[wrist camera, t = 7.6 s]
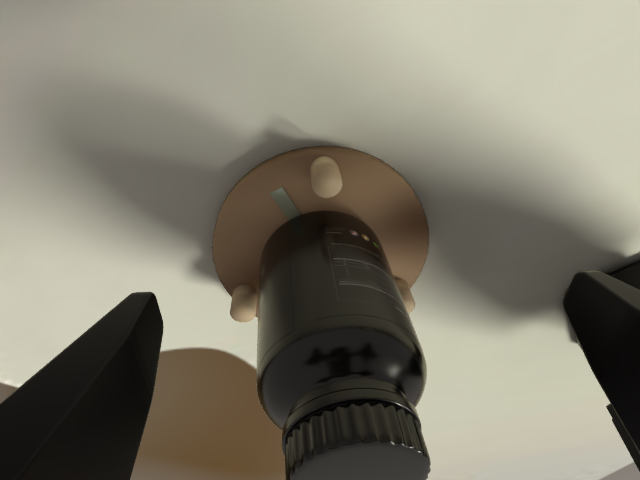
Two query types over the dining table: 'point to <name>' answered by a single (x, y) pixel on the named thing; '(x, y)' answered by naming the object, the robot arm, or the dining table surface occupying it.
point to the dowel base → (316, 195)
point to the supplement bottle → (338, 354)
